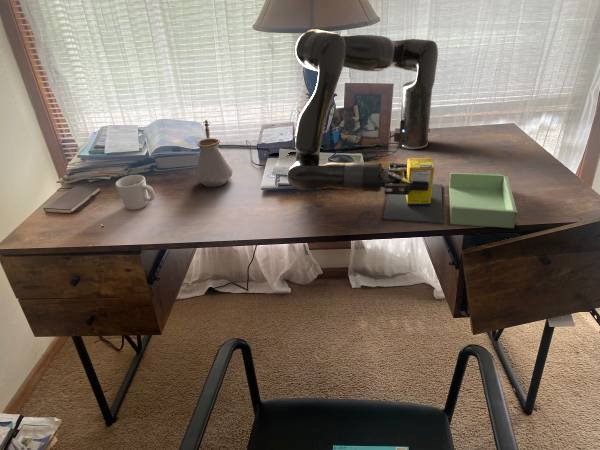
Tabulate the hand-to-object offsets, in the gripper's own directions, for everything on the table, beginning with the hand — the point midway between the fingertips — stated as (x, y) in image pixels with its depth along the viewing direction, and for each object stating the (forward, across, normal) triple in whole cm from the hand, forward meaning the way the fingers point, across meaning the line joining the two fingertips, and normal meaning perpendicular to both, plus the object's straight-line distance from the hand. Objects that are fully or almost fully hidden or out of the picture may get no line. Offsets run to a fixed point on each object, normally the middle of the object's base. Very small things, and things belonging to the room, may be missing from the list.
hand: (428, 179), depth 111 cm
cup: (-78, -12, +7) cm, 79 cm away
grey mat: (-3, 0, +7) cm, 7 cm away
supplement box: (-2, 0, +6) cm, 7 cm away
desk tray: (+13, 0, +7) cm, 14 cm away
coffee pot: (-65, +10, +7) cm, 66 cm away
